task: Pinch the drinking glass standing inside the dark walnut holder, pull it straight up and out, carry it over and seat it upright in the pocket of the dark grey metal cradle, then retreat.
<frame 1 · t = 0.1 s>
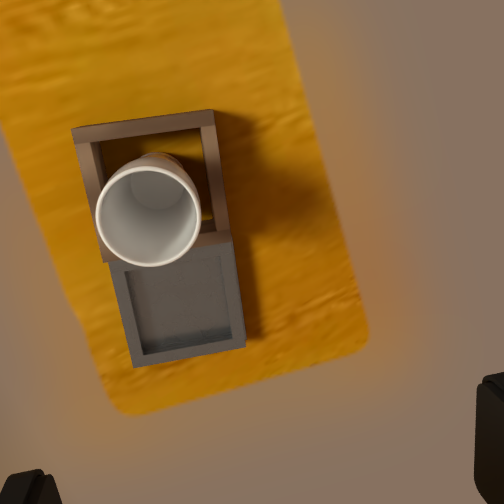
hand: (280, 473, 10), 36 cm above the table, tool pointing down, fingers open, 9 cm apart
walnut holder: (158, 180, 44), on the table
metal cradle: (180, 296, 48), on the table
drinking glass: (158, 179, 44), resting in walnut holder
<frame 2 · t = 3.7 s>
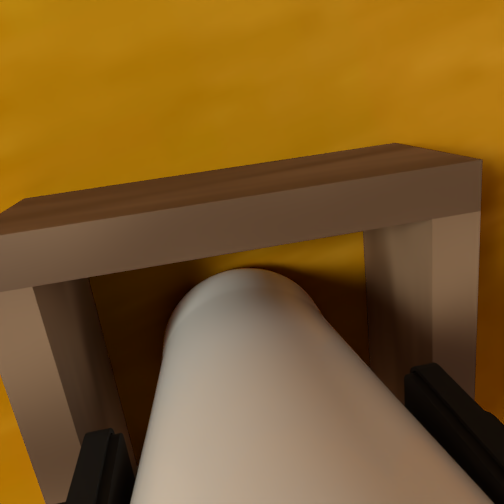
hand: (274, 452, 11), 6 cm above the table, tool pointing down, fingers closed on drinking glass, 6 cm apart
walnut holder: (242, 334, 16), on the table
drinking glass: (242, 332, 16), resting in walnut holder, touching gripper
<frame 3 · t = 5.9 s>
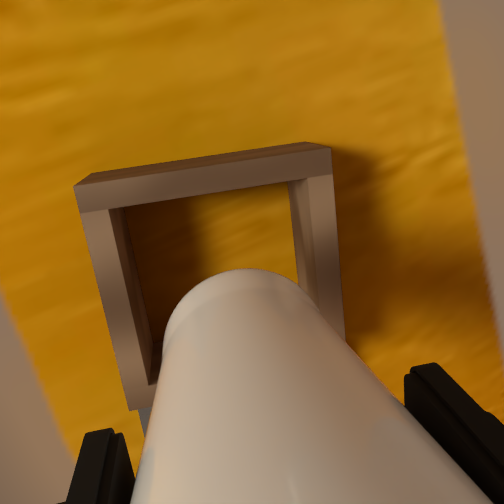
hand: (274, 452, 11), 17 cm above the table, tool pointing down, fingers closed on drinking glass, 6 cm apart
walnut holder: (217, 258, 26), on the table
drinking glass: (241, 332, 16), point 11 cm above the table, touching gripper
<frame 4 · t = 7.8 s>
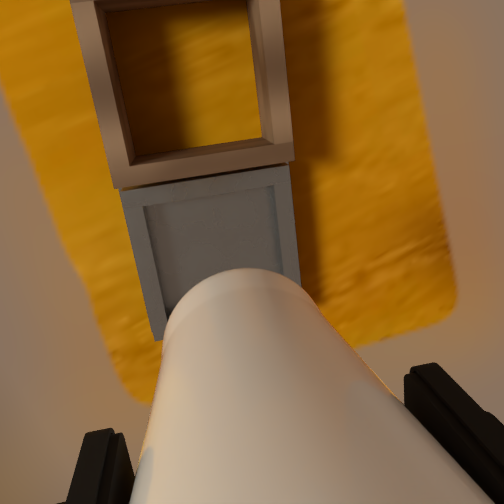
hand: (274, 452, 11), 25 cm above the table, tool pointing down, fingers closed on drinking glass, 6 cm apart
walnut holder: (188, 79, 31), on the table
metal cradle: (216, 245, 35), on the table
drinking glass: (241, 332, 16), point 19 cm above the table, touching gripper
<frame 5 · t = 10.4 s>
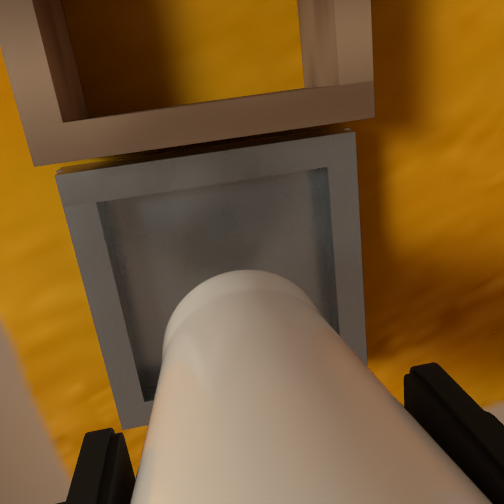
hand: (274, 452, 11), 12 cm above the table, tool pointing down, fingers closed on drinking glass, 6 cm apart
metal cradle: (225, 269, 22), on the table
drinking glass: (242, 333, 16), point 6 cm above the table, touching gripper
when the fingers open (7 cm above the table, at t = 12.3 s): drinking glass stays where it is, resting on metal cradle.
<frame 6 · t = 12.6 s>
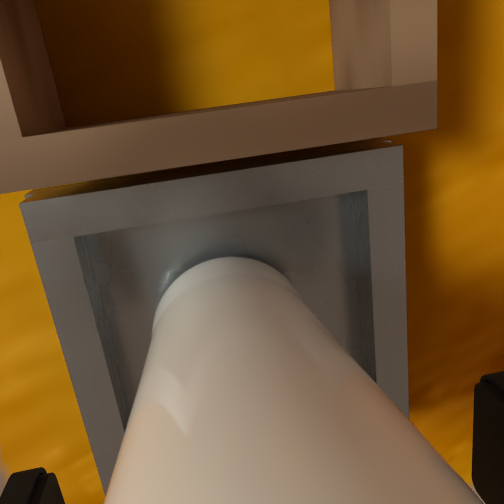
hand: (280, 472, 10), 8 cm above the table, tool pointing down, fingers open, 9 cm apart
metal cradle: (235, 311, 18), on the table
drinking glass: (228, 318, 17), point 1 cm above the table, touching metal cradle
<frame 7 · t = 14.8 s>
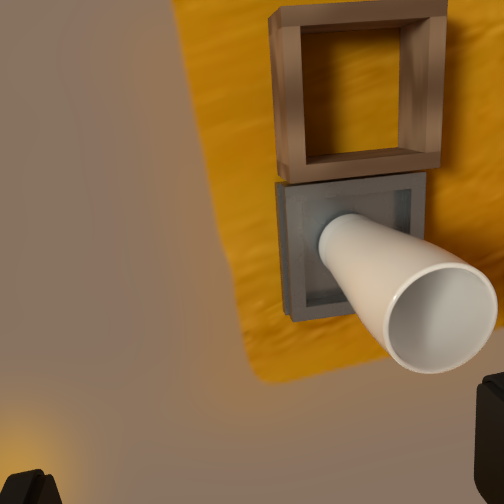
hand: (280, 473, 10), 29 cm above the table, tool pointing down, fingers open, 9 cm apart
walnut holder: (344, 94, 36), on the table
metal cradle: (347, 240, 40), on the table
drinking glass: (346, 242, 39), point 1 cm above the table, touching metal cradle
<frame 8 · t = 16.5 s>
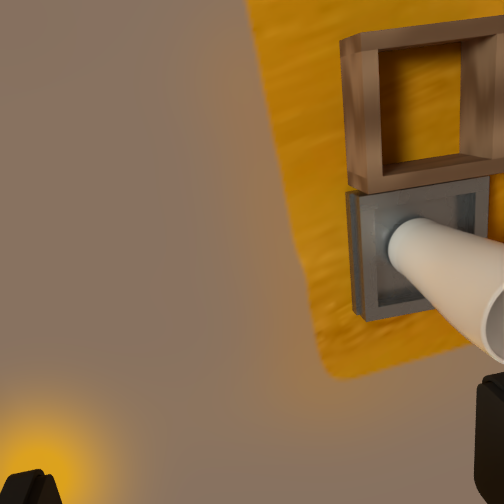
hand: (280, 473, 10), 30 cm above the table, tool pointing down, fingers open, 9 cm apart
walnut holder: (409, 106, 39), on the table
metal cradle: (412, 242, 43), on the table
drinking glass: (412, 244, 42), point 1 cm above the table, touching metal cradle
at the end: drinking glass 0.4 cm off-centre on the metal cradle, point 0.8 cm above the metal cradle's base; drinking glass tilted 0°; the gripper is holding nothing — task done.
